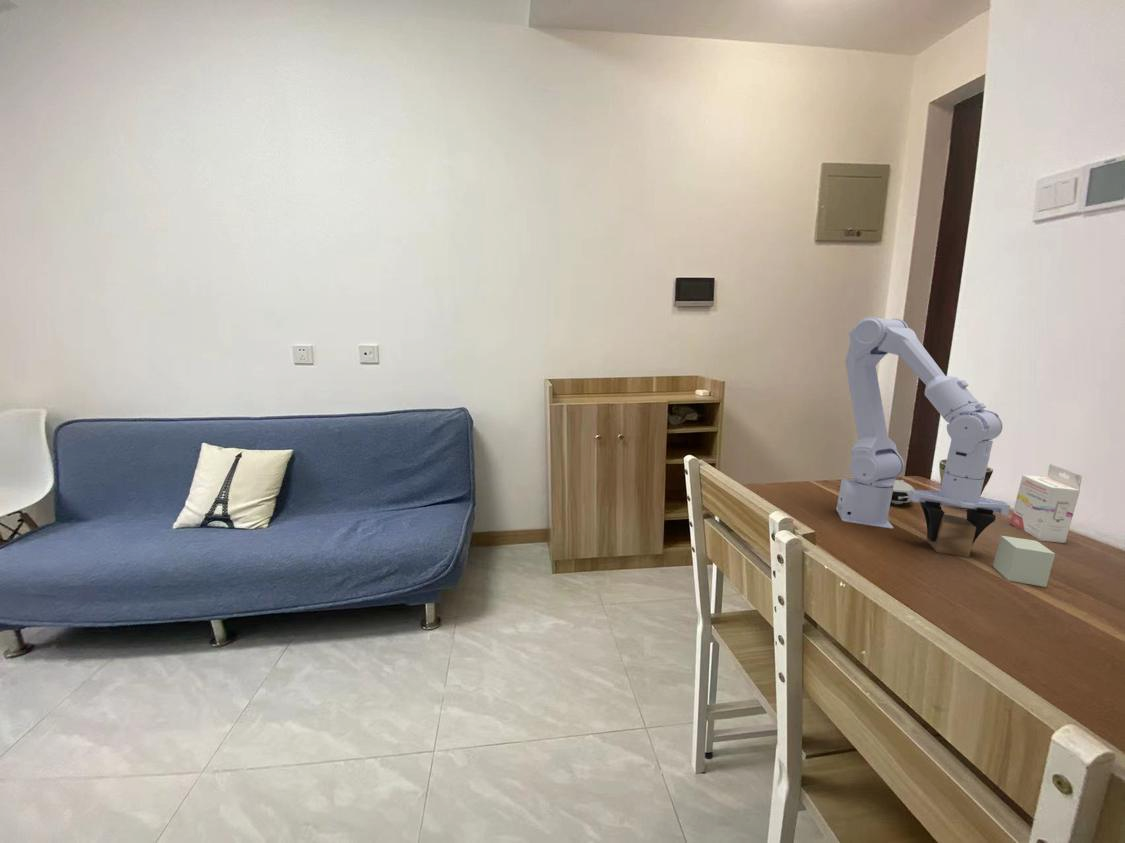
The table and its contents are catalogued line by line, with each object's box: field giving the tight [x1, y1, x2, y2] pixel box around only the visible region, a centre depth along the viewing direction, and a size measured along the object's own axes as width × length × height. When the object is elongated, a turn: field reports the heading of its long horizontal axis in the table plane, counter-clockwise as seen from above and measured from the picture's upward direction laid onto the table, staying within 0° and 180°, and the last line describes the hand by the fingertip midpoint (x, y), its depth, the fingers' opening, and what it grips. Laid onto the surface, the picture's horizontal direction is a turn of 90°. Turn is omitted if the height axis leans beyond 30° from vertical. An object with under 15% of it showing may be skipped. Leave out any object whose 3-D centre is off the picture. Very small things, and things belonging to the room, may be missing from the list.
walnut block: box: [926, 513, 976, 558], centre depth 88 cm, size 5×5×6 cm
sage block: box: [992, 535, 1056, 588], centre depth 79 cm, size 5×5×6 cm
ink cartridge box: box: [1009, 463, 1083, 544], centre depth 97 cm, size 9×5×15 cm, turn 168°
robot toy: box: [840, 477, 915, 505], centre depth 116 cm, size 12×4×15 cm
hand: (948, 542), depth 88 cm, fingers closed on walnut block, 5 cm apart
